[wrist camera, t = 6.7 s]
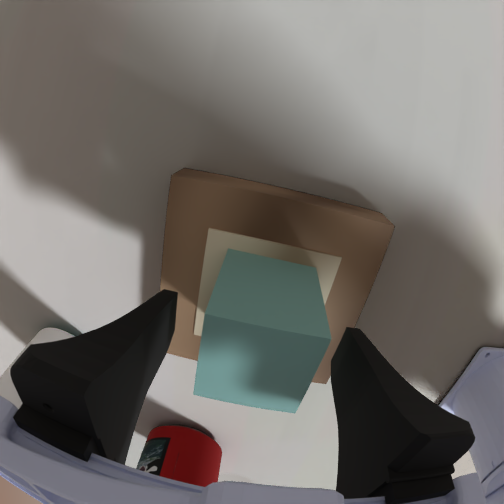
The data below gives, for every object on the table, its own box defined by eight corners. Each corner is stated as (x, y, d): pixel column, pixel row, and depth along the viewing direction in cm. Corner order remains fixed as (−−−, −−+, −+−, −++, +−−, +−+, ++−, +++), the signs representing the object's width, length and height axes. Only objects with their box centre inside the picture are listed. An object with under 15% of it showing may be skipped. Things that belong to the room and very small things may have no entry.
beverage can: (145, 411, 23) (101, 531, 12) (225, 426, 23) (201, 559, 12) (155, 448, 26) (124, 547, 15) (222, 461, 25) (204, 567, 14)
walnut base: (381, 213, 15) (395, 227, 13) (323, 361, 19) (326, 385, 17) (184, 167, 15) (170, 175, 13) (167, 329, 19) (157, 351, 17)
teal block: (316, 267, 14) (331, 338, 9) (292, 335, 16) (295, 413, 11) (228, 248, 14) (204, 313, 9) (215, 319, 16) (193, 394, 11)
